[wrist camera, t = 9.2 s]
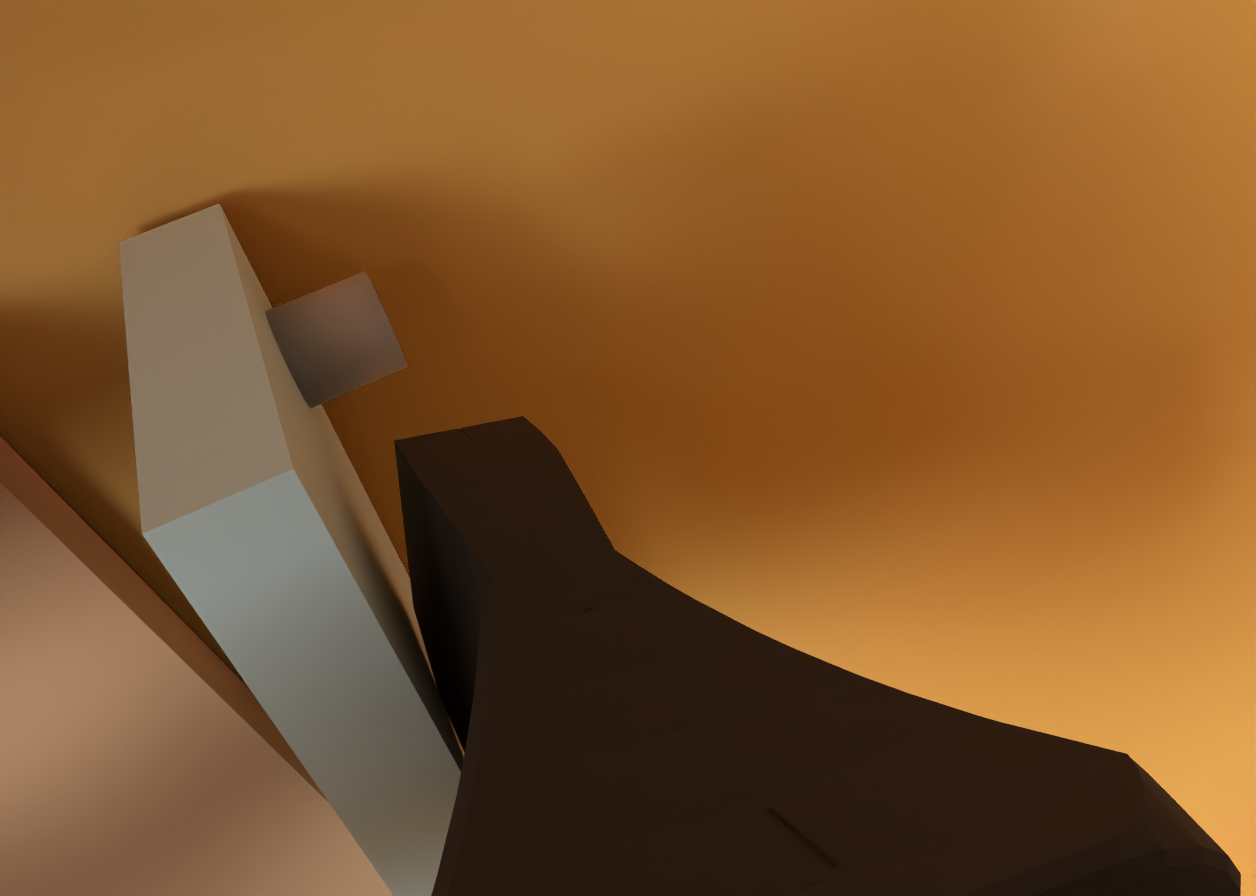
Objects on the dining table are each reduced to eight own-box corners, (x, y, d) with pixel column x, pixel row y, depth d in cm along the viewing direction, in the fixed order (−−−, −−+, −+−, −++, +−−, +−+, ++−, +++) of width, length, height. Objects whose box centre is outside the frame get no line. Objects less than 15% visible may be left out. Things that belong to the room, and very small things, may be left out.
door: (600, 814, 18) (734, 1102, 15) (486, 872, 18) (592, 1180, 14) (317, 164, 11) (438, 405, 7) (118, 242, 11) (143, 534, 7)
